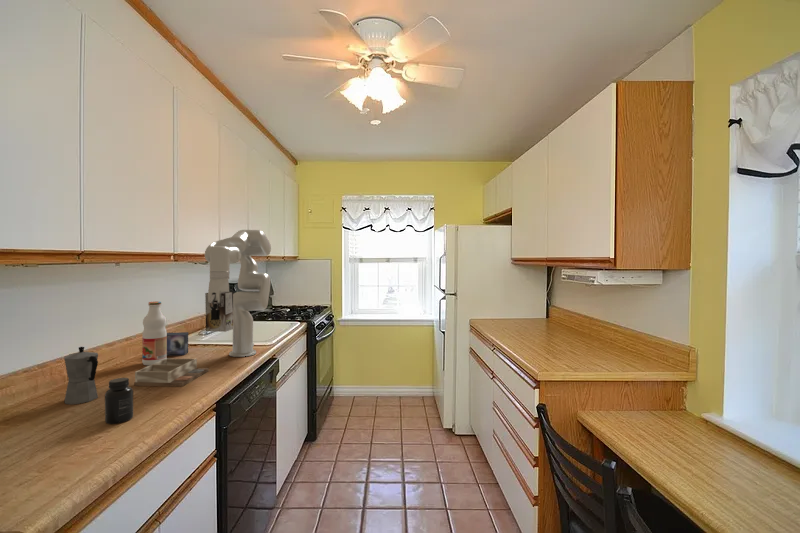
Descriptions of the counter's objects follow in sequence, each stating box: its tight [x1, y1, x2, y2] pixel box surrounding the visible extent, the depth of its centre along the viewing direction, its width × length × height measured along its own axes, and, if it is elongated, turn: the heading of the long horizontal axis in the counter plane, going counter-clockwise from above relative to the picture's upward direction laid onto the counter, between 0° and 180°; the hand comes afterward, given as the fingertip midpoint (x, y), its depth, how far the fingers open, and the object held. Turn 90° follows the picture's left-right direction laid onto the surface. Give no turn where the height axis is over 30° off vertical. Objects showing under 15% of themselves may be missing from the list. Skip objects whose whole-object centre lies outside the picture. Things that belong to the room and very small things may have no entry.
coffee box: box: [204, 291, 234, 333], centre depth 162 cm, size 9×6×16 cm
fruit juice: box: [141, 301, 168, 366], centre depth 175 cm, size 9×9×28 cm
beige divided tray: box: [134, 357, 209, 387], centre depth 155 cm, size 20×18×5 cm
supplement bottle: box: [104, 377, 134, 425], centre depth 115 cm, size 7×7×12 cm
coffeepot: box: [63, 346, 99, 405], centre depth 130 cm, size 15×9×18 cm, turn 65°
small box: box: [167, 331, 189, 357], centre depth 192 cm, size 11×6×10 cm, turn 102°
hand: (219, 317), depth 162 cm, fingers closed on coffee box, 6 cm apart
